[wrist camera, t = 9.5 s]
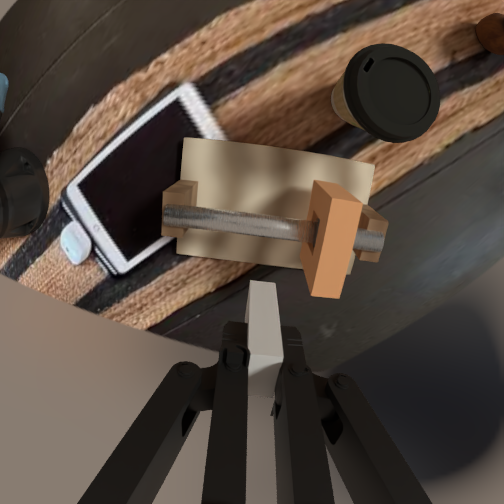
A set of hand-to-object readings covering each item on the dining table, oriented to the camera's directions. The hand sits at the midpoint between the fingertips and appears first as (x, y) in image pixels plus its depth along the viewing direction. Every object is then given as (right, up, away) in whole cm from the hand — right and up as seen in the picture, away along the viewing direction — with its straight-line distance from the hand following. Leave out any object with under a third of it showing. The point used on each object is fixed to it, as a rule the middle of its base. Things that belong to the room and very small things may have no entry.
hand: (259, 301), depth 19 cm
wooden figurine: (+37, +37, +10) cm, 54 cm away
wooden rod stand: (+2, +9, +23) cm, 25 cm away
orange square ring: (+8, +7, +19) cm, 22 cm away
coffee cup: (+13, +23, +17) cm, 31 cm away
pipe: (+2, +6, +16) cm, 17 cm away
